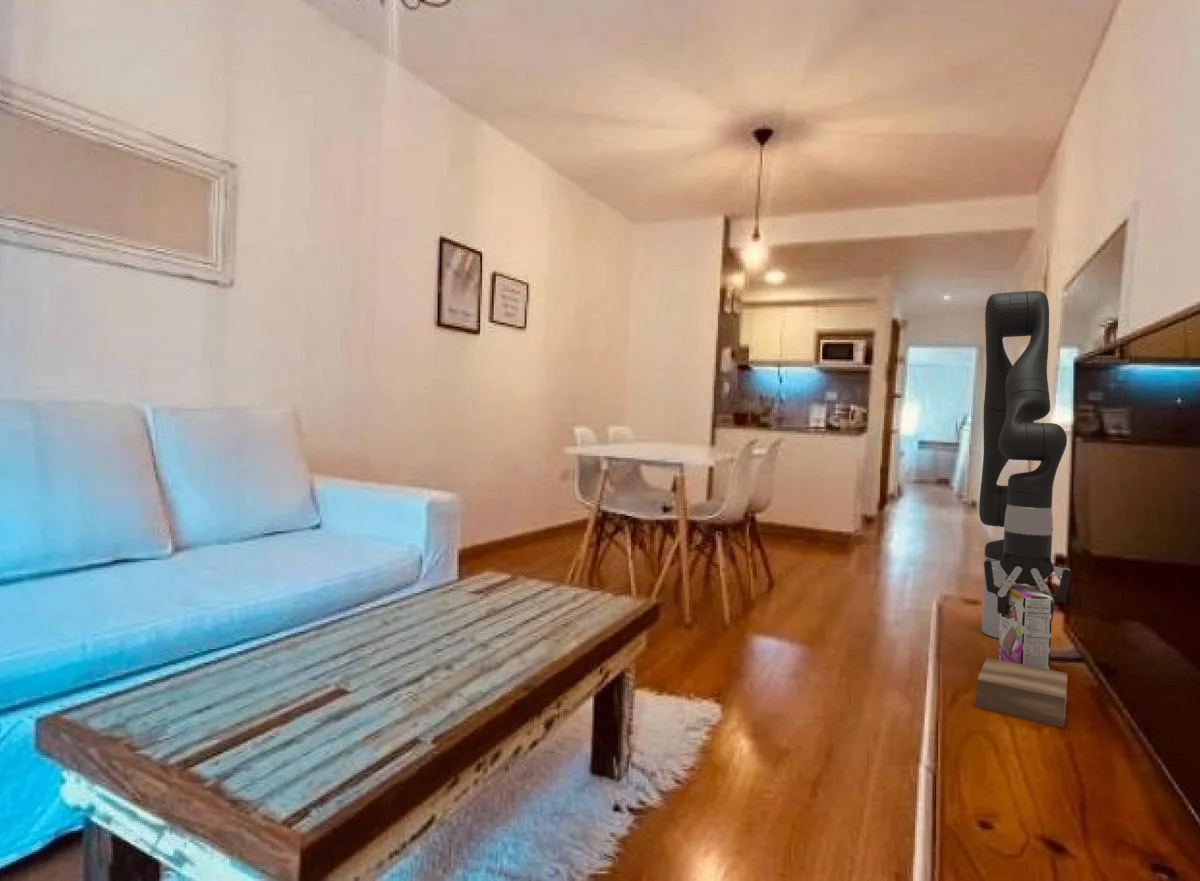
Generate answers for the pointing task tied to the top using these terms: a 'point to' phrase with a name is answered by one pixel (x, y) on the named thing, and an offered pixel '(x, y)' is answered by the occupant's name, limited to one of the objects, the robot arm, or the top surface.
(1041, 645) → the candy bar box
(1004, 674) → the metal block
